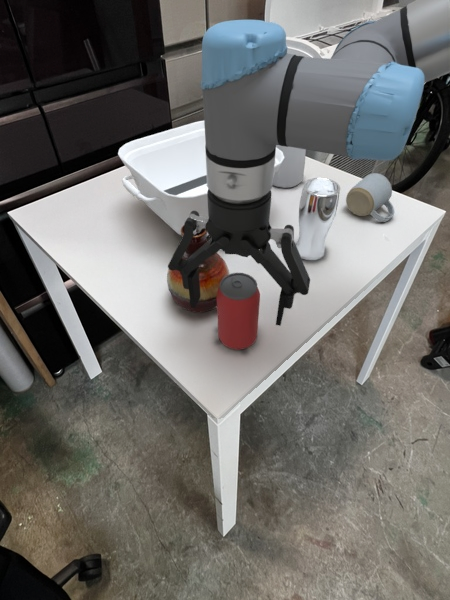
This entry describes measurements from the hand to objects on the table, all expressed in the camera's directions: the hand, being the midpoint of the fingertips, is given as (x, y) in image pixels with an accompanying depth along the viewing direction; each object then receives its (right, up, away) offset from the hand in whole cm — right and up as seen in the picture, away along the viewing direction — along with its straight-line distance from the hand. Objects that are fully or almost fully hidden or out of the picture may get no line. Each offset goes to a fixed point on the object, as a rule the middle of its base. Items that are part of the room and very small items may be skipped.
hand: (236, 310), depth 58 cm
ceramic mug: (+32, +22, +30) cm, 49 cm away
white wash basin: (-7, +22, +31) cm, 38 cm away
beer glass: (+16, +12, +20) cm, 28 cm away
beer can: (0, -5, +5) cm, 7 cm away
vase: (-6, +2, +11) cm, 13 cm away
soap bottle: (+14, +34, +41) cm, 54 cm away
